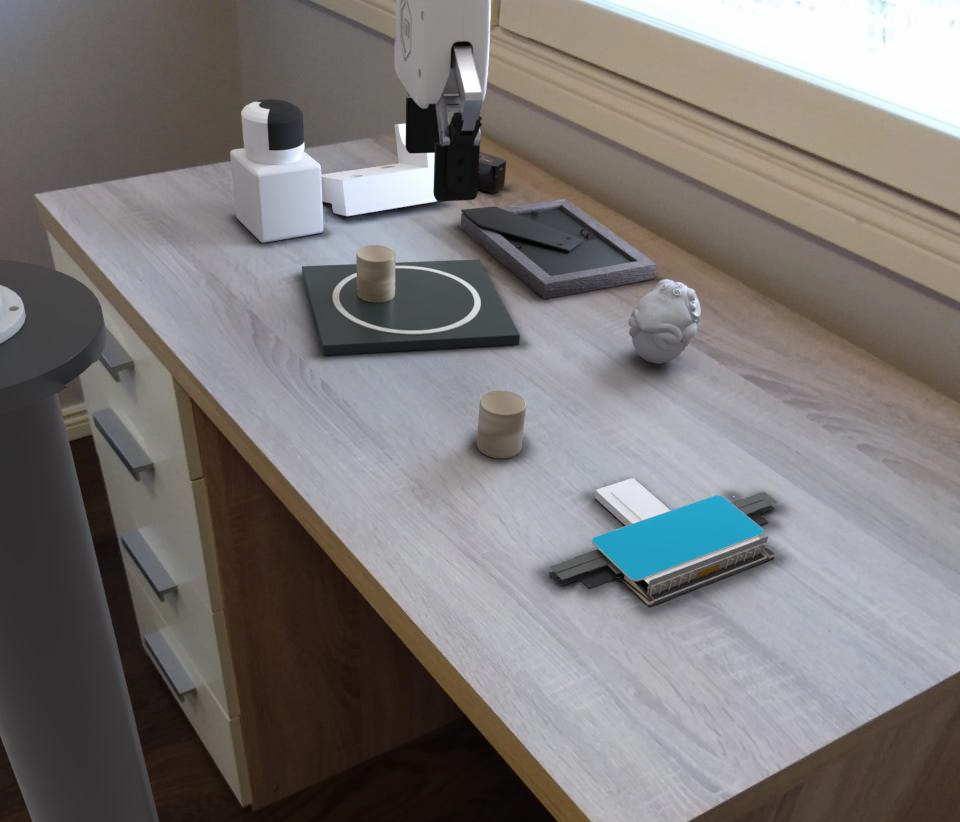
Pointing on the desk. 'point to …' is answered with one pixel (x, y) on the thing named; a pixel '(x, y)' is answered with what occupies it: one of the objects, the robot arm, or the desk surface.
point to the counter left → (376, 273)
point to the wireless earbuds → (491, 173)
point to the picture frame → (556, 247)
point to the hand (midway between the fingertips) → (439, 174)
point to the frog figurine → (664, 321)
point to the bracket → (382, 183)
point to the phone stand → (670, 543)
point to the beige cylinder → (501, 424)
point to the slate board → (409, 309)
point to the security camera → (276, 174)
